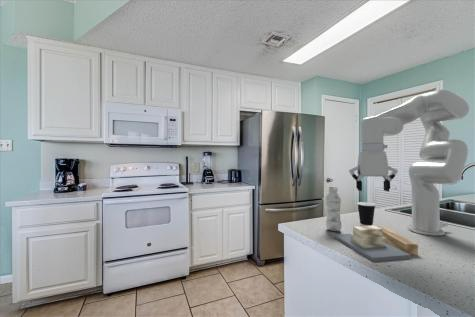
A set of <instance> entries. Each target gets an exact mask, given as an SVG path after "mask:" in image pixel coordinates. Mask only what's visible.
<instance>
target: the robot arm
mask: <svg viewBox="0 0 475 317" xmlns="http://www.w3.org/2000/svg"><path fill="white" fill-rule="evenodd" d="M469 111H470V107H469V104H468V102H467V101H466V100H465V99H464V98H462V97H461V96H459V95H457V94H456V93H454V92H453V91H450V90H447V89H437V90H433V91H429V92H426V93H421V94H418V95H416V96H414V97H412V98H411V99H409V100H407V101H406V102H403V103H402V104H401V105H399V106H397V107H393V108H392V109H389V110H387V111H385V112H381V113H380V114H378V115H376V116H370V117H368V116H367V117H364V118H363V119H362V120H361V123H360V125H361V130H360V131H361V133H360V134H361V151H359V152H358V157H357V159H358V160H357V165H356V166H355V167H352V168H351V169H349V170H348V172H349V174H350V176H351V177H352V178H353V179H354V180H355V181H356V182H355V184H356V185H355V186H356V189H357V191H359V192H362V191H363V181H362V179H364V177H382V178H383V191H384V192H388V193H389V192H390V189H391V182H392V180H393V179H394V178H396V175H397V173H398V169H396V168H394V167H392V166H390V165H389V163H388V162H389V161H388V156H387V152H386V151H385V150H386V149H388V147H389V146H388V144H385V143H384V142H385V141H384V137H390V136H395V135H399V134H401V132H402V131H403V130H404V125H407V124H410V123H412V122H413V123H414V121H416V120H417V119H420V121H421V123H422V125H423V128H424V131H425V134H424V137H423V140H422V143H421V146H420V148H419V149H420V150H419V155H418V156H419V158H420V159H421V160H423V161H418V162H417V161H416V162H414V163H412V164H411V165H410V166H409V167H408V176H409V179H410V184H411V185H410V186H411V224H409V225H407V229H408V230H409V231H411V232H413V233H415V234H421V235H425V236H426V235H427V236H436V237H439V236H440V237H441V236H444V235H445V231H444V230H443V229H442V228H447V227H449V224H448V223H447V222H441V220H440V192H439V190H438V189H437V187H436V186H435V184H437V185H438V184H439V185H456V184H458V183H459V182H460V180H461V178H462V175H463V172H464V169H465V165H466V162H467V158H468V154H469V149H468V145H467V144H466V142H465V141H463V140H461V139H454V138H453V139H449V138H450V135H451V134H450V131H449V129H448V128H447V127H446V126H445V125H444V124H442V122H445V121H454V120H461V119H463V118H465V117H466V116H467V115H468V114H469ZM356 171H357V172H356ZM389 171H390V172H391V173H390V174H389ZM355 172H356V173H355ZM356 174H357V175H356Z"/></svg>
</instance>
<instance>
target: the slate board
mask: <svg viewBox="0 0 475 317" xmlns="http://www.w3.org/2000/svg"><path fill="white" fill-rule="evenodd" d="M333 238H334V239H335V240H337V241H338V242H340V243H342V244H344V245H346V246H347V247H348V248H350V249H352V250H353V251H355V252H356V253H358V254H359V255H362V256H363V257H364V258H366V259H368V260H369V261H370V262H374V263H375V262H381V261H382V262H383V261H394V260H408V259H411V257H412V255H410V254H408V253H406V252H404V251H402V250H399V249H397V248H395V247H393V246H391V245H389V244H388V243H386V246H384V247H370V248H362V247H361V246H359V245H357V244H355V243H354V242H352V241H351V233H338V234H333Z"/></svg>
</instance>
